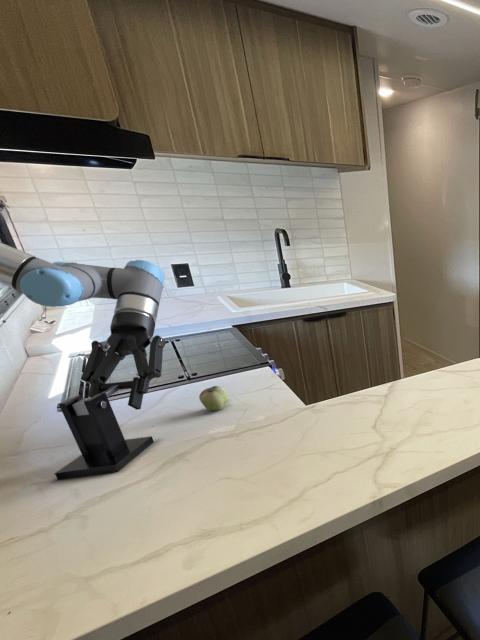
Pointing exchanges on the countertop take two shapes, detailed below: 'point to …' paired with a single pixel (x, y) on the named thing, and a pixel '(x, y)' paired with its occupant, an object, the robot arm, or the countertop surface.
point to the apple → (214, 398)
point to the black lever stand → (98, 439)
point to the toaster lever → (105, 388)
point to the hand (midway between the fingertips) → (114, 409)
